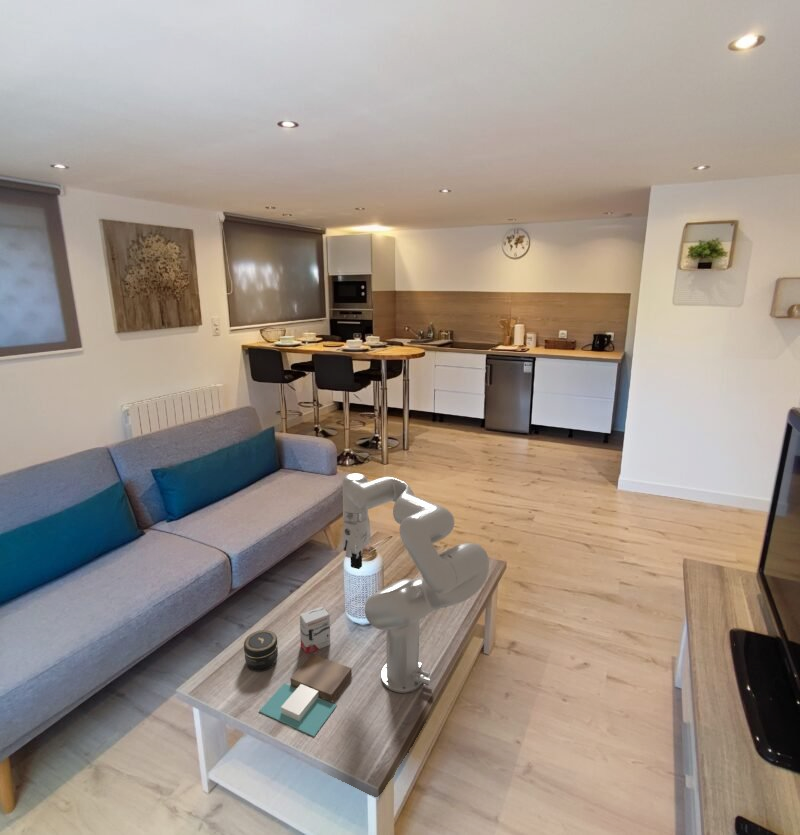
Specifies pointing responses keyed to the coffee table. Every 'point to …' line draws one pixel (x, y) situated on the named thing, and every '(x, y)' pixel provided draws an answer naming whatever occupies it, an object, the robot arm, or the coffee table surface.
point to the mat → (309, 721)
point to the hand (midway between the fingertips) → (356, 566)
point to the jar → (261, 650)
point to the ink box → (315, 629)
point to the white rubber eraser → (299, 702)
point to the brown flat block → (322, 676)
